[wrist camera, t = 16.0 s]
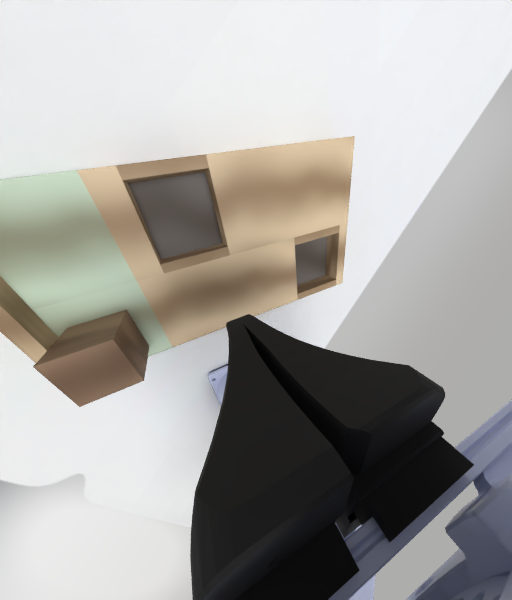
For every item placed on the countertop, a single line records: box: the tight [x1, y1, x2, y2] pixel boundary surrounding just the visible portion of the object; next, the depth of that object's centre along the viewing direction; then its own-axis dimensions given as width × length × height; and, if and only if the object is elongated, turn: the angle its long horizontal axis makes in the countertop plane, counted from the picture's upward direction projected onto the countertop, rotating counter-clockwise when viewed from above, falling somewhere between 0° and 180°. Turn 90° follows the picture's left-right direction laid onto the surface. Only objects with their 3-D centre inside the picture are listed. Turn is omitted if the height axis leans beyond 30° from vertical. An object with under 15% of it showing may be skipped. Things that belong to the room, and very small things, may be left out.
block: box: [33, 310, 149, 407], centre depth 13 cm, size 4×4×4 cm
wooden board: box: [0, 136, 355, 363], centre depth 16 cm, size 14×28×4 cm, turn 100°
